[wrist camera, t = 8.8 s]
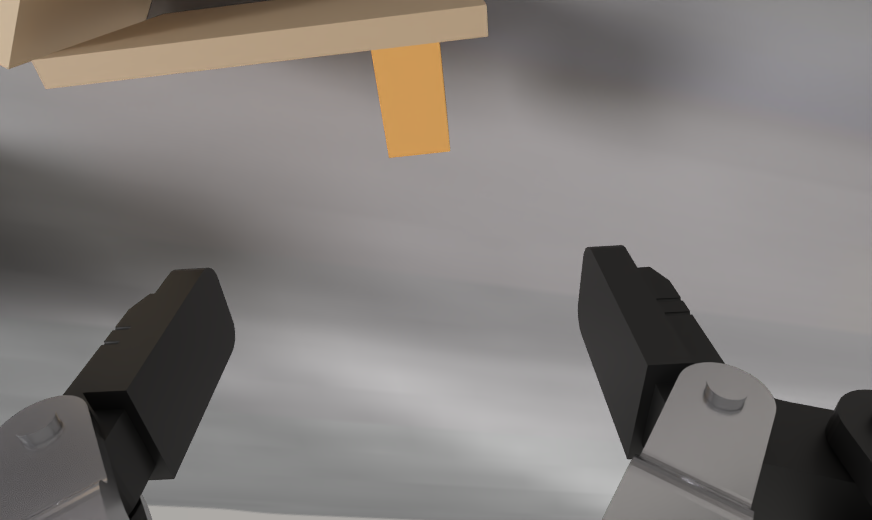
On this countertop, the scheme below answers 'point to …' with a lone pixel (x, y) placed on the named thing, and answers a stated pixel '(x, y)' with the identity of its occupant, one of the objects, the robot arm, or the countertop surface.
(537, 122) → the countertop surface
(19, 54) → the carton
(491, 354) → the countertop surface
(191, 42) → the flap
